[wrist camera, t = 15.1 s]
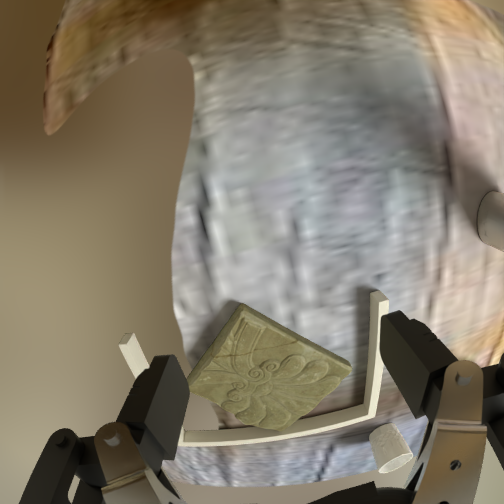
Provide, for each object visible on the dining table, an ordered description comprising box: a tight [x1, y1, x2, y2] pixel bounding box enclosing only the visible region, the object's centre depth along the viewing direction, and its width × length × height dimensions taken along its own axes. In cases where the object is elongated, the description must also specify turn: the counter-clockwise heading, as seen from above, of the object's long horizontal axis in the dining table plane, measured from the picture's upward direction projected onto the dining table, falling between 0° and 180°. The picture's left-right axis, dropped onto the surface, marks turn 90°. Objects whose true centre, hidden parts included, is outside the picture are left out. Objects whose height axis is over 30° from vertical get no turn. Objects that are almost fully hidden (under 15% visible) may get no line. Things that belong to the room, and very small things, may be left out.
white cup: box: [369, 423, 413, 473], centre depth 41 cm, size 8×8×10 cm
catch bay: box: [118, 290, 389, 446], centre depth 38 cm, size 37×26×3 cm
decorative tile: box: [186, 303, 352, 432], centre depth 37 cm, size 19×20×4 cm
